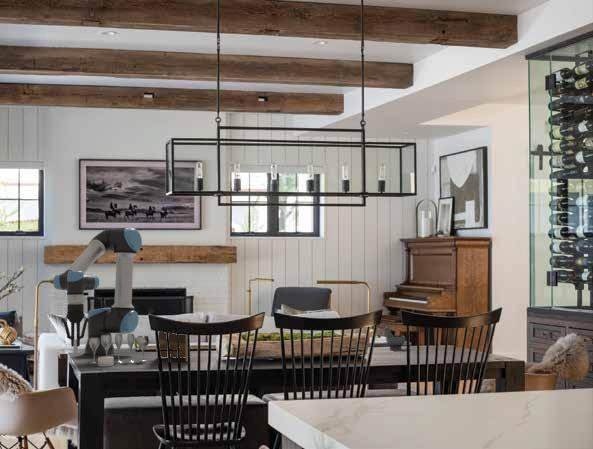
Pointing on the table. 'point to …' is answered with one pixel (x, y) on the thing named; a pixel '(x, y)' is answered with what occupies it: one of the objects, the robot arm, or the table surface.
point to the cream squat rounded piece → (106, 361)
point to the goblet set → (118, 343)
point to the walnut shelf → (174, 343)
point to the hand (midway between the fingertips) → (75, 353)
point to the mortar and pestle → (394, 340)
